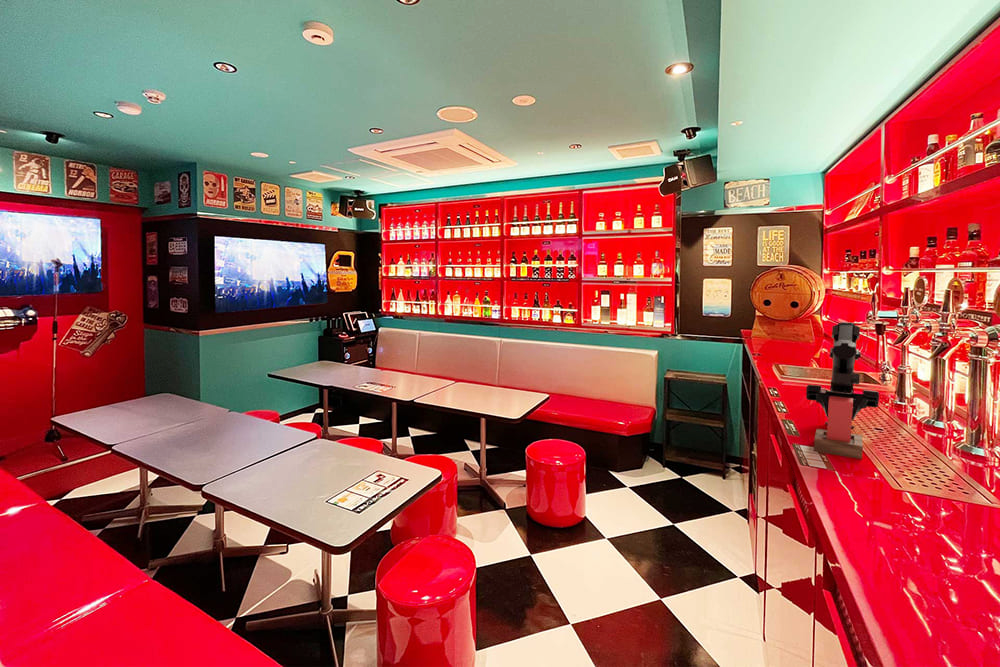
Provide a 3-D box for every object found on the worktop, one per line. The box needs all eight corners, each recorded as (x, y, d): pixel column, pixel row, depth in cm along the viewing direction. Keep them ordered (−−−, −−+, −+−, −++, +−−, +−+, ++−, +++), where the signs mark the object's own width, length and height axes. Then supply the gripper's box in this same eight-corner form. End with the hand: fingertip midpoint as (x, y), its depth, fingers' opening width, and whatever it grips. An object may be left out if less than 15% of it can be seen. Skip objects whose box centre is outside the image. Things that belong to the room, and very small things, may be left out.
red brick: (827, 433, 152) (829, 395, 151) (850, 436, 149) (852, 398, 147) (826, 438, 148) (828, 400, 146) (850, 442, 144) (852, 402, 143)
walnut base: (816, 440, 157) (816, 428, 157) (861, 447, 150) (862, 435, 149) (813, 451, 147) (814, 438, 147) (861, 459, 140) (862, 446, 140)
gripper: (808, 360, 154) (803, 400, 147) (881, 365, 143) (880, 409, 136) (808, 379, 161) (804, 418, 154) (878, 385, 150) (877, 428, 143)
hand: (839, 418), depth 146 cm, fingers closed on red brick, 6 cm apart
